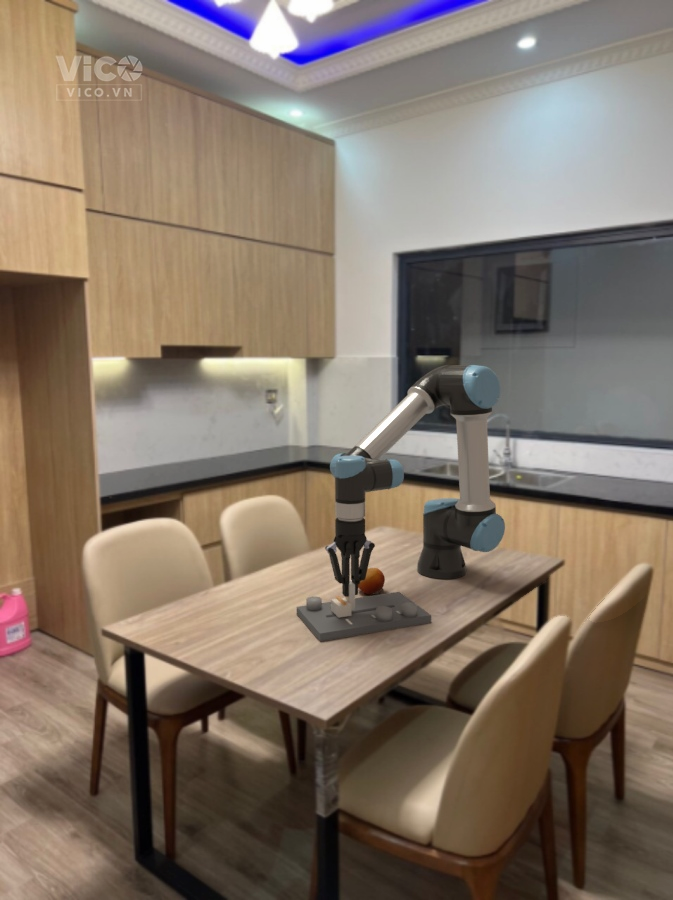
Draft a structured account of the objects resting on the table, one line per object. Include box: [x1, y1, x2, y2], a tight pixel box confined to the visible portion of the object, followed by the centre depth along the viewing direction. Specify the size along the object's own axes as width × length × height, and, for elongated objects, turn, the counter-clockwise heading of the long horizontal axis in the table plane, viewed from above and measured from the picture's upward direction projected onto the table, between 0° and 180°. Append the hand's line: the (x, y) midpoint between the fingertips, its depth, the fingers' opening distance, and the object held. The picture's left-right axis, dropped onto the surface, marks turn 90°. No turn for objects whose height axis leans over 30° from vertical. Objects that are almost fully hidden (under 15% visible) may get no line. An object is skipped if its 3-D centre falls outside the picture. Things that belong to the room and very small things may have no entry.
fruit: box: [358, 567, 386, 596], centre depth 186 cm, size 8×8×8 cm
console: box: [296, 591, 432, 642], centre depth 167 cm, size 30×18×4 cm, turn 111°
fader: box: [330, 595, 351, 618], centre depth 164 cm, size 4×5×4 cm
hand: (350, 607), depth 165 cm, fingers closed
